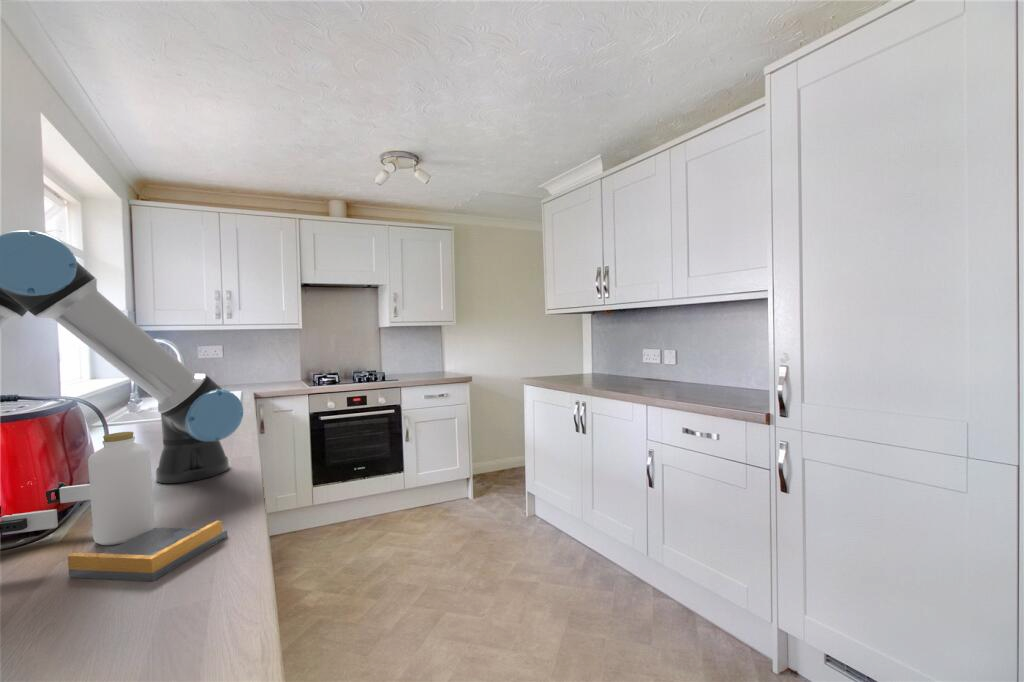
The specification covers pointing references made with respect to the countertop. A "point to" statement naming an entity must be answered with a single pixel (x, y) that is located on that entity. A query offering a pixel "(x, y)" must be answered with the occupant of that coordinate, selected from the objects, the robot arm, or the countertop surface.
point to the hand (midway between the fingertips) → (82, 503)
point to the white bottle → (121, 490)
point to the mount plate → (146, 554)
